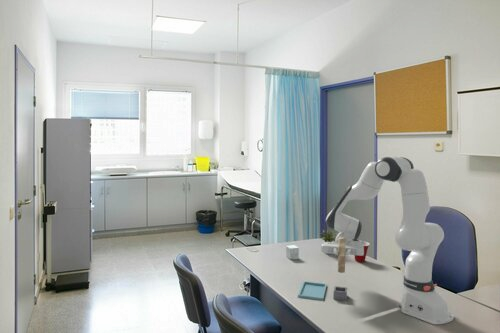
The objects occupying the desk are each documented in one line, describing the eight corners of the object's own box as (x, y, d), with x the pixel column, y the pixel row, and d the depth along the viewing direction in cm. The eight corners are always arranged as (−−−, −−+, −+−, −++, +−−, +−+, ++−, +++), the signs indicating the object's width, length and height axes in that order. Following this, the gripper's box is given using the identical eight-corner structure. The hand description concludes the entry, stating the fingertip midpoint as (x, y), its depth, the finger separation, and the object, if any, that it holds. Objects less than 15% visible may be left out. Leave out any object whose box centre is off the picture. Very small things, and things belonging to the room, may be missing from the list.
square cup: (346, 297, 187) (347, 287, 187) (346, 302, 181) (346, 292, 181) (334, 296, 189) (334, 286, 188) (333, 301, 183) (333, 290, 183)
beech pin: (346, 272, 183) (347, 238, 182) (341, 273, 181) (341, 239, 180) (341, 269, 186) (342, 237, 184) (336, 271, 184) (337, 238, 183)
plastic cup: (370, 264, 235) (370, 245, 233) (351, 263, 237) (352, 243, 236) (368, 258, 245) (369, 240, 244) (350, 257, 247) (351, 239, 246)
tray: (303, 284, 202) (303, 281, 202) (326, 287, 199) (326, 283, 199) (297, 299, 185) (297, 295, 185) (323, 302, 182) (323, 298, 181)
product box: (298, 258, 244) (299, 247, 243) (290, 259, 242) (290, 248, 241) (294, 255, 250) (294, 244, 249) (285, 256, 247) (286, 245, 247)
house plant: (339, 258, 246) (340, 233, 244) (317, 256, 249) (318, 231, 247) (339, 251, 260) (340, 227, 258) (318, 249, 263) (319, 226, 261)
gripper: (322, 237, 198) (319, 245, 185) (364, 240, 192) (364, 248, 179) (322, 249, 198) (319, 258, 185) (363, 253, 193) (363, 262, 179)
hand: (341, 253), depth 182 cm, fingers closed on beech pin, 3 cm apart
